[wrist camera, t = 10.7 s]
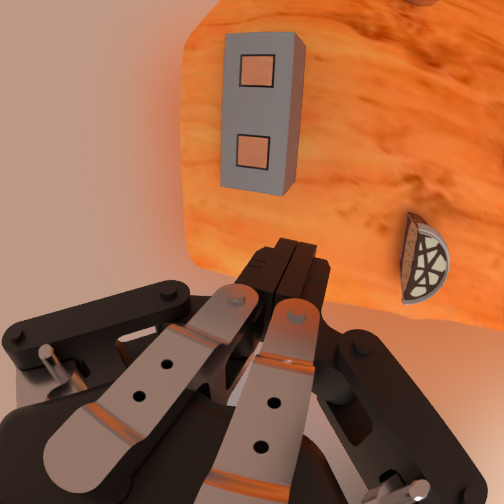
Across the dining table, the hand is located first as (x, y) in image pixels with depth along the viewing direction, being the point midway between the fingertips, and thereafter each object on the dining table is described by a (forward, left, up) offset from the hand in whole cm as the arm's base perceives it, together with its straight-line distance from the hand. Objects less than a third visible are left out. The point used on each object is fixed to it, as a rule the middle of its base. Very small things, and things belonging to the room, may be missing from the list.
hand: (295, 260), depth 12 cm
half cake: (-8, +18, -33) cm, 39 cm away
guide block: (+7, -9, -33) cm, 35 cm away
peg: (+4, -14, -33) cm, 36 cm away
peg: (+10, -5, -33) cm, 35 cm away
